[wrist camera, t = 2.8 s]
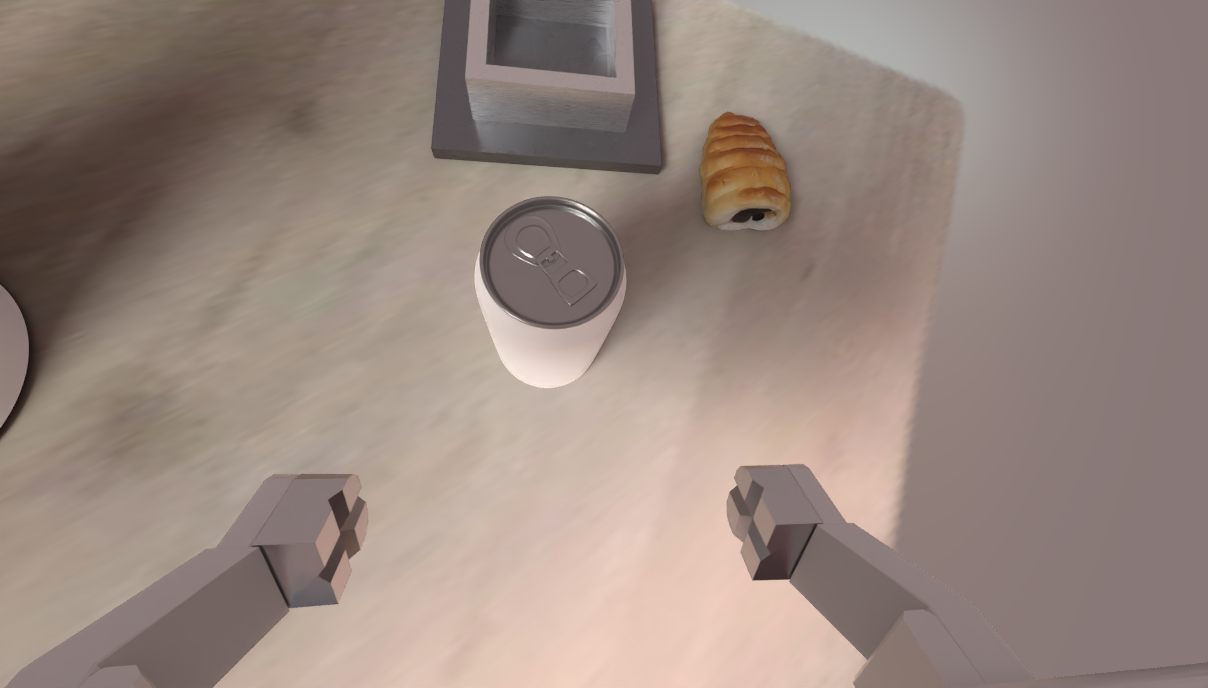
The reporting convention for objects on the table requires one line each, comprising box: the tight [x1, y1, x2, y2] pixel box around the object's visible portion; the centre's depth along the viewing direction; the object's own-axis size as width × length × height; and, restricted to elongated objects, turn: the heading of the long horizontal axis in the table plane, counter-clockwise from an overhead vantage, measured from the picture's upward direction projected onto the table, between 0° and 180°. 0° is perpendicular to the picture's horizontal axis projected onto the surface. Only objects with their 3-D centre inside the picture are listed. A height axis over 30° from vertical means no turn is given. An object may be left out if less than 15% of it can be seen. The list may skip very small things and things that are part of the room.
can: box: [475, 196, 626, 388], centre depth 23 cm, size 6×6×12 cm
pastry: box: [700, 112, 791, 231], centre depth 32 cm, size 9×7×4 cm
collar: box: [431, 0, 661, 174], centre depth 32 cm, size 16×16×4 cm
